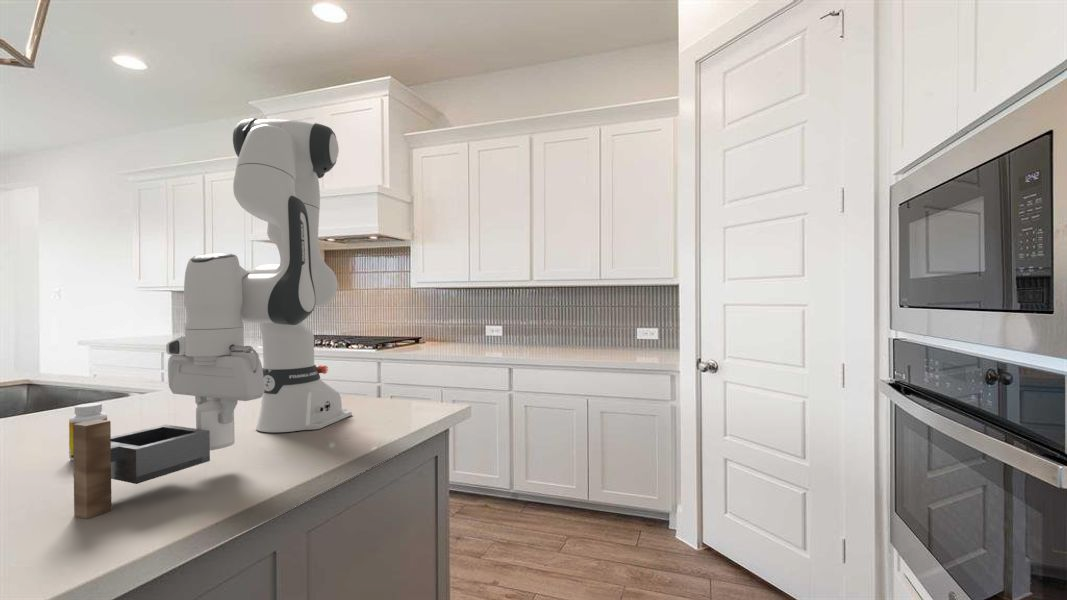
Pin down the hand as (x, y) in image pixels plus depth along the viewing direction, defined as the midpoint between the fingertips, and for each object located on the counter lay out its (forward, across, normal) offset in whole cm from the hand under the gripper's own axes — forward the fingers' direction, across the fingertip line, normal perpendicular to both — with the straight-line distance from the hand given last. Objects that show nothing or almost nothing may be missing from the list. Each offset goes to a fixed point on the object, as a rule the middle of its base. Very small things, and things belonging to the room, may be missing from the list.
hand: (216, 421), depth 90 cm
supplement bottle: (+9, +31, +4) cm, 32 cm away
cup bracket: (+9, 0, +13) cm, 15 cm away
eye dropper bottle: (+5, 0, 0) cm, 5 cm away
